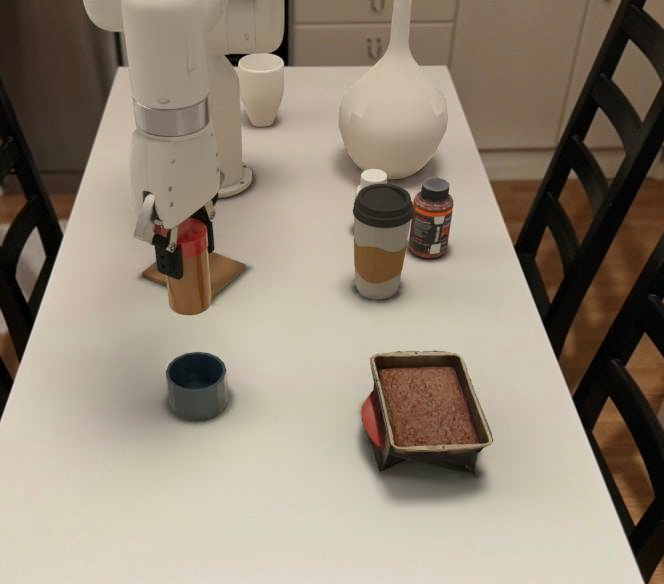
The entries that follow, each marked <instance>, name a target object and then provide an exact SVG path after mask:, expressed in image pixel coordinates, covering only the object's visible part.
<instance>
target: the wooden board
mask: <svg viewBox="0 0 664 584" xmlns="http://www.w3.org/2000/svg"><path fill="white" fill-rule="evenodd" d="M208 259H209V273H210V286H211V300H212V299H214V298H215V297H216V296H218V294H219V293H220V292H222V291H223V290H224V289H225V288H226V287H228V285H229V284H231V283H232V282H233V281H234V280H235V279H236V278H237V277H238V276H240V275H241V274H242V273H243V272H244V271H245V270H246V269H247V264H246V263H243V262H241V261H238V260H235V259H233V258H230V257H227V256H224V255H222V254H219V253H216V252H214V251H213V252H212V253H208ZM141 277H142V278H144V279H146V280H150V281H152V282H154V283H157V284H159V285H162V286H164V287H167V281H166V275H164V274H162V273H160V272H158V270H157V263H156V261H155V262H153V263H152V264H151V265H150V266H148V267H147V268H146V269H145V270H143V271H142V272H141Z"/></svg>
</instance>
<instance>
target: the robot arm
mask: <svg viewBox="0 0 664 584" xmlns="http://www.w3.org/2000/svg"><path fill="white" fill-rule="evenodd" d="M82 3H83V7H84V9H85V12H86V14H87V16H88V18H89V19H90V21H91V22H92V23H93V24H94V25H95V26H96V27H97V28H99V29H101V30H103V31H106V32H113V33H115V32H116V33H124V39H125V40H124V41H125V47H126V48H125V49H126V56H127V57H126V58H127V64H128V65H127V66H128V73H129V80H130V81H129V82H130V90H131V95H132V96H131V97H132V105H133V112H134V120H135V121H134V122H135V130H134V131H133V132H132V134H131V142H130V163H129V164H130V183H131V184H130V185H131V186H130V187H131V196H132V197H131V199H132V208H133V213H134V216H135V219H137V222H136V225H135V228H134V231H133V238H134V239H136V240H139V241H141V242H144V243H148V244H149V245H151V246H153V247H154V255H155V262H156V263H157V270H158V272H160V273H162V274H164V275H167V276H169V277H172V278H175V279H177V280H180V279H181V278H182V277H183V267H182V257H181V249H180V248H179V247H177V246H176V244H177V235H178V225H179V224H180V223H182V222H183V221H184V220H186V219H187V218H188V217H189V218H195V219H198V220H200V221H202V222H203V223H204V224H205V225H206V227H207V233H208V253H212V252H214V251H215V238H214V223H213V220H214V219H215V218H216V213H217V212H216V209H215V206H216V203H217V201H218V199H221V198H223V199H224V198H229V197H233V196H235V195H238V194H241V193H242V192H244V191H245V190H246V189H248V188H249V186H251V184H252V182H253V171H252V169H251V168H250V166H249V165H248V164H247V163H245V162H244V161H243V141H242V139H243V137H242V114H241V113H242V111H241V95H240V84H239V75H238V73H237V71H236V69H235V67H234V65H233V64H232V63H231V62H230V60H229V59H228V58H227V55H250V54H262V53H268V54H271V53H273V52H275V51H277V50H278V49H279V47H280V46H281V44H282V42H283V39H284V34H285V0H82ZM161 227H164V228H165V229H168V230H167V238H166V237H164V236H162V235H161Z"/></svg>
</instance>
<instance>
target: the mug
mask: <svg viewBox="0 0 664 584" xmlns="http://www.w3.org/2000/svg"><path fill="white" fill-rule="evenodd" d="M237 72H238V73H237V75H238V79H239V84H240V100H241V102H242V104H243V106H244V109H245V111H246V114H247V116H248V119H249V121H250V123H251V124H252V125H253V126H255V127H258V128H264V127H265V128H266V127H270V126H271V125H273V124H274V122H275V120H276V116H277V114H278V111H279V108H280V106H281V103H282V101H283V97H284V91H285V62H284V60H283V59H282V57H280V56H278V55H277V54H273V53H262V54H246V55H245V56H243V57H241V58H240V59H239V61H238V65H237Z"/></svg>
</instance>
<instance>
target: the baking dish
mask: <svg viewBox="0 0 664 584" xmlns="http://www.w3.org/2000/svg"><path fill="white" fill-rule="evenodd" d="M369 362H370V363H369V364H370V371H371V375H372V379H373V387H372V391H370V393H369V394H368V396H367V397H366V398H365V401H364V402H363V405H362V407H361V423H362V425H363V428H364V431H365V433H366V436H367V438H368V442H369V444H370V446H371V449H372V452H373V456H374V459H375V462H376V465H377V468H378V471H379V473H383V472H385V471H387V470H389V469H391V468H392V469H393V468H394V467H396V466H398V465H400V464H402V463H405V462H406V461H410V462H415V463H418V464H419V463H420V464H424V465H428V466H433V467H437V468H440V469H441V468H442V469H447V470H451V471H455V472H462V473H467V474H468V473H469V474H474V475H475V474H477V472H476V465H477V459H478V454H479V453H480V452H482V451H483V449H485V448H487V447H489V446H491V445H492V444H493V442H494V438H493V434H492V431H491V427H490V426H489V423H488V420H487V418H486V415H485V413H484V410H483V408H482V406H481V403H480V400H479V398H478V397H477V394H476V390H475V387H474V384H473V381H472V379H471V377H470V375H469V371H468V367H467V364H466V363H465V360H464V358H463V357H462V356H461V355H460V354H459V353H456V352H450V351H444V350H441V351H440V350H423V351H419V350H418V351H417V350H407V351H400V350H399V351H397V350H396V351H393V352H392V351H391V352H383V353H376V354H372V356H371V357H369Z"/></svg>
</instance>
